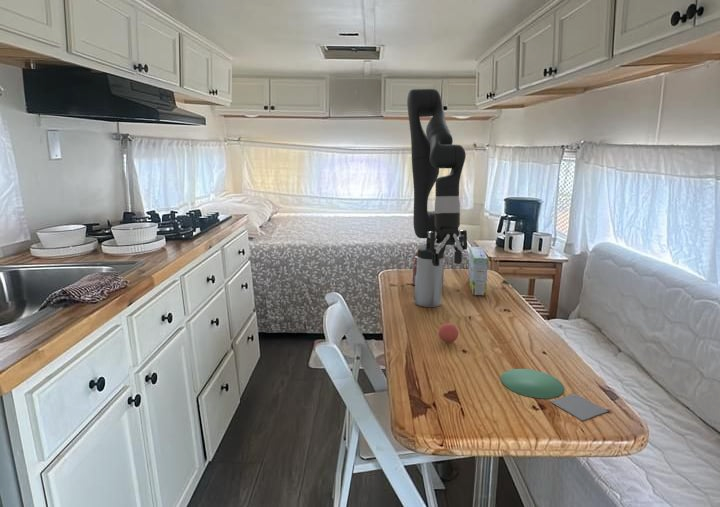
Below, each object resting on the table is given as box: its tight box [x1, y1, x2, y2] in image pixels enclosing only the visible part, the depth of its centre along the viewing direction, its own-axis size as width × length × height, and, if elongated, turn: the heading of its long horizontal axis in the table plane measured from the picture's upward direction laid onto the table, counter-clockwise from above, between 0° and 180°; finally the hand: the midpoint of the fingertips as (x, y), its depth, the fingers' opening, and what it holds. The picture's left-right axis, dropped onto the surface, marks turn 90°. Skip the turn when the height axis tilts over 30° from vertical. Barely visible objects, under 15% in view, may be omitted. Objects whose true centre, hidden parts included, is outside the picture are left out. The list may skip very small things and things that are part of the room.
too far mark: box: [550, 393, 609, 422], centre depth 98 cm, size 8×8×1 cm
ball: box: [438, 322, 459, 344], centre depth 131 cm, size 6×6×6 cm
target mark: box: [500, 368, 565, 400], centre depth 108 cm, size 14×14×1 cm
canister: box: [411, 246, 446, 286], centre depth 187 cm, size 13×13×18 cm
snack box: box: [467, 246, 489, 297], centre depth 183 cm, size 21×6×15 cm, turn 172°
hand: (446, 264), depth 140 cm, fingers open, 8 cm apart
